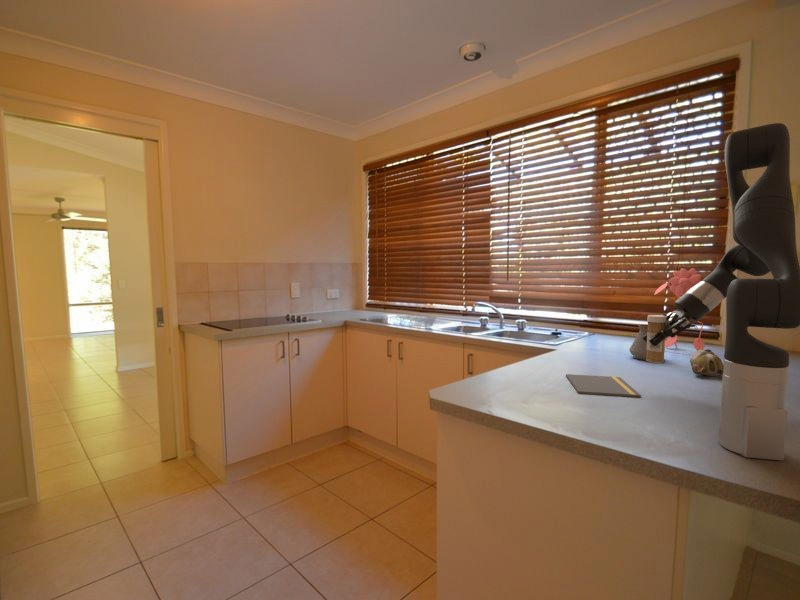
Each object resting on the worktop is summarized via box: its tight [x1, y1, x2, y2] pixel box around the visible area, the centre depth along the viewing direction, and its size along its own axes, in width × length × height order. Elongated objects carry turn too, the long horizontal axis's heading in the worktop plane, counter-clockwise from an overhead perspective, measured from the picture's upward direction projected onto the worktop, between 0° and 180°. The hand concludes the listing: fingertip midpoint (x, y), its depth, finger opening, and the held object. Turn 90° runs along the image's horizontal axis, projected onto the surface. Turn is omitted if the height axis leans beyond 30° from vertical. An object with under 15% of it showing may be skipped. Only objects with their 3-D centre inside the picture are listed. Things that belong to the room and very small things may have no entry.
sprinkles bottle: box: [645, 314, 666, 364], centre depth 113 cm, size 5×5×14 cm
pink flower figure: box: [653, 267, 706, 356], centre depth 164 cm, size 15×26×35 cm, turn 31°
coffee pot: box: [628, 324, 698, 361], centre depth 148 cm, size 21×12×15 cm, turn 40°
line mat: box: [565, 373, 642, 398], centre depth 118 cm, size 18×16×1 cm
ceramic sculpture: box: [689, 348, 724, 377], centre depth 130 cm, size 11×9×15 cm
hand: (648, 342), depth 114 cm, fingers closed on sprinkles bottle, 4 cm apart
